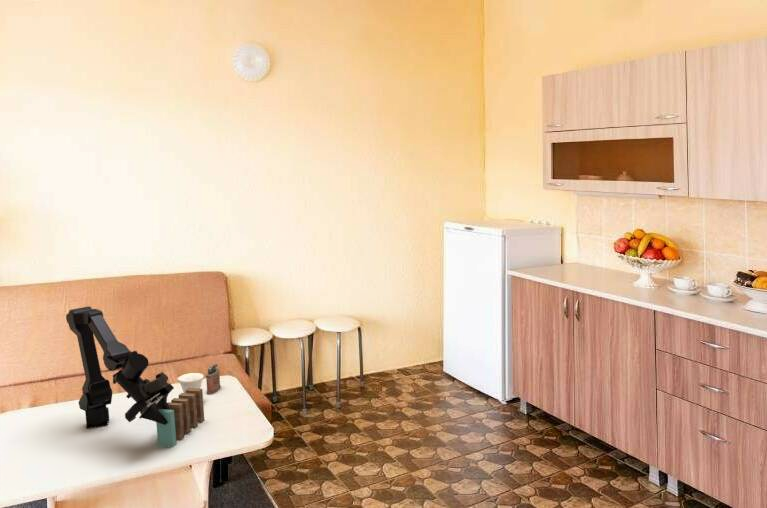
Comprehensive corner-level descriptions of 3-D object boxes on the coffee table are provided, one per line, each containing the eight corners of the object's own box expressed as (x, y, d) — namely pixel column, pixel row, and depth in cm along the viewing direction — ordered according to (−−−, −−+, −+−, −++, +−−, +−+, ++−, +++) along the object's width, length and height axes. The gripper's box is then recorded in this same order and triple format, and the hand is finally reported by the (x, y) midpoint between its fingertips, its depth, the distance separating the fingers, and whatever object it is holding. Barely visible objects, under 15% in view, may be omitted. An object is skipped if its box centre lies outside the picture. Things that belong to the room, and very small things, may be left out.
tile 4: (180, 439, 188) (179, 405, 187) (165, 438, 189) (164, 404, 188) (183, 437, 190) (183, 403, 189) (169, 436, 191) (168, 402, 190)
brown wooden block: (187, 434, 192) (185, 401, 191) (173, 433, 193) (171, 400, 192) (190, 431, 194) (188, 398, 193) (176, 430, 195) (174, 398, 194)
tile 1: (201, 422, 201) (199, 391, 200) (187, 421, 202) (185, 390, 201) (204, 420, 203) (202, 388, 202) (190, 419, 204) (188, 388, 203)
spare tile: (173, 447, 184) (170, 412, 182) (158, 445, 185) (155, 411, 183) (176, 444, 186) (173, 409, 184) (161, 442, 187) (159, 408, 185)
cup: (178, 400, 222) (176, 373, 220) (205, 396, 224) (203, 370, 223) (178, 409, 213) (176, 381, 212) (205, 405, 216) (203, 378, 214)
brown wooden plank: (194, 428, 197) (192, 396, 195) (180, 427, 198) (178, 395, 196) (197, 425, 199) (195, 393, 197) (183, 424, 200) (181, 392, 198)
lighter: (212, 394, 226) (211, 369, 225) (204, 394, 227) (203, 368, 226) (222, 387, 234) (221, 362, 233) (214, 386, 235) (213, 361, 233)
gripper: (131, 378, 173) (168, 417, 173) (166, 358, 192) (200, 393, 191) (108, 403, 176) (145, 441, 175) (145, 381, 194) (179, 415, 194)
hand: (169, 421), depth 184 cm, fingers open, 3 cm apart
